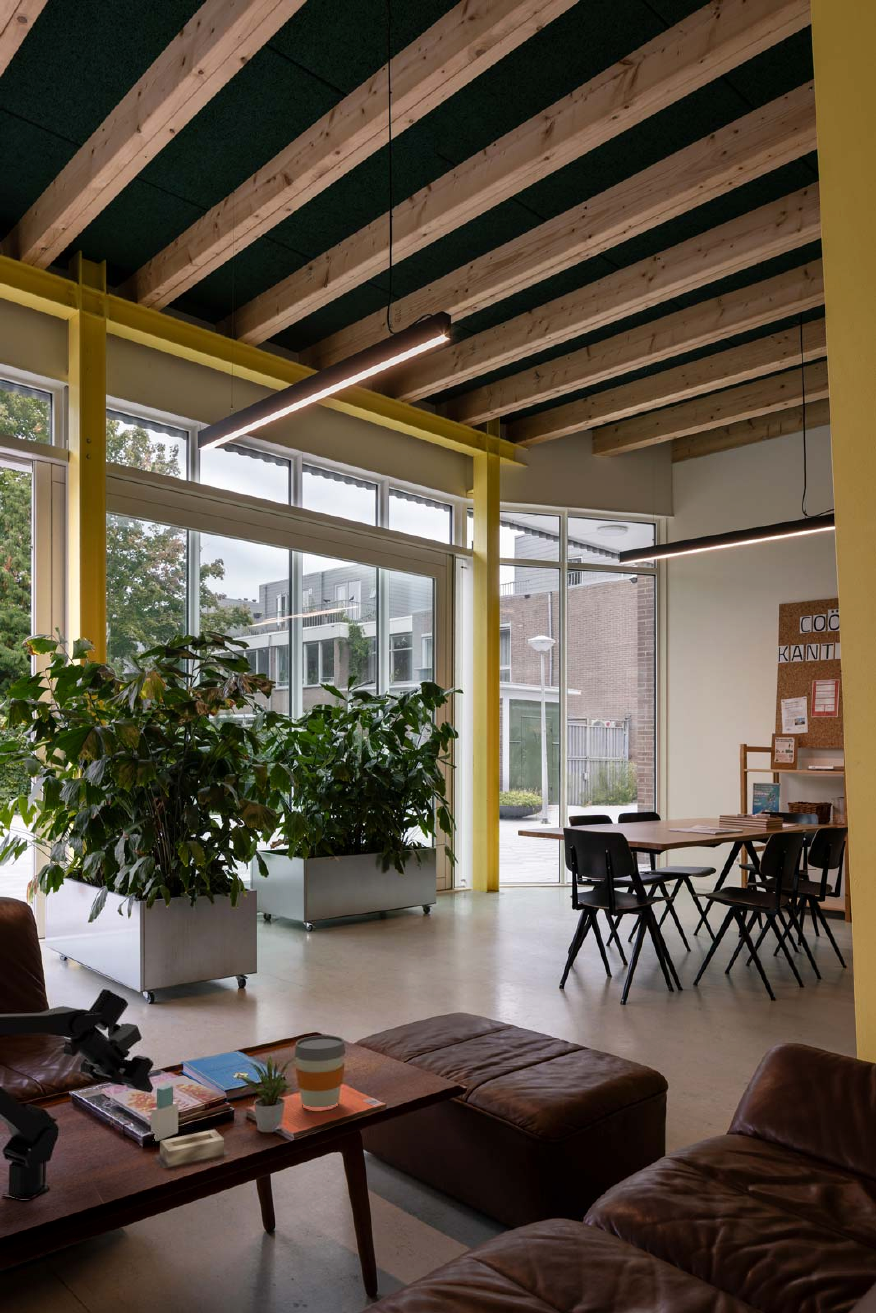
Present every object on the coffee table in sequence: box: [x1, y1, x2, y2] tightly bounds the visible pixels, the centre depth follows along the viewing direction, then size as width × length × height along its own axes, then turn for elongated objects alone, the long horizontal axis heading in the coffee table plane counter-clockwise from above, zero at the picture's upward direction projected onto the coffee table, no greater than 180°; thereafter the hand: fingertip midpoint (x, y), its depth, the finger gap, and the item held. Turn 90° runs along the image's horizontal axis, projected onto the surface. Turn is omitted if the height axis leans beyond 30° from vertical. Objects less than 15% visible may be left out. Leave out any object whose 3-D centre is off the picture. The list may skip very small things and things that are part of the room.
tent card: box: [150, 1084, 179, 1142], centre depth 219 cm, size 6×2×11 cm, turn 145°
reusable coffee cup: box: [294, 1035, 346, 1107], centre depth 239 cm, size 13×13×15 cm
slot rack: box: [159, 1129, 225, 1168], centre depth 208 cm, size 12×7×3 cm, turn 120°
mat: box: [154, 1147, 230, 1170], centre depth 208 cm, size 14×8×1 cm, turn 120°
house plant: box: [236, 1053, 300, 1133], centre depth 225 cm, size 14×14×16 cm
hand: (138, 1087), depth 214 cm, fingers open, 9 cm apart
